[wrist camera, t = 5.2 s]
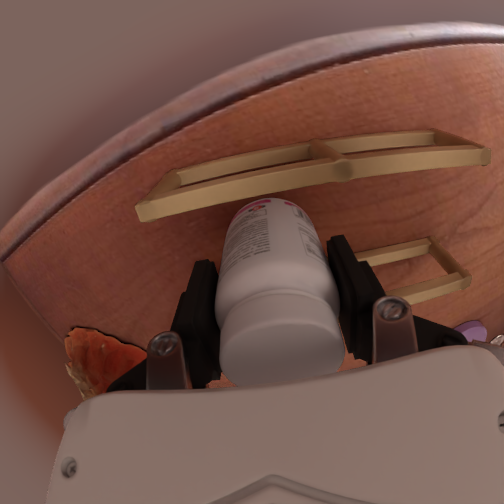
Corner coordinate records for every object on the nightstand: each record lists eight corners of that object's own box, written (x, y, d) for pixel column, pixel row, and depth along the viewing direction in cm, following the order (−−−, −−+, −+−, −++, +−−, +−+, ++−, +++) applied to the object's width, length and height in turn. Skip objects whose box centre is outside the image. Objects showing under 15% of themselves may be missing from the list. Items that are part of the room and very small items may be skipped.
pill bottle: (226, 271, 17) (209, 398, 9) (227, 193, 14) (198, 304, 7) (306, 274, 17) (334, 399, 10) (320, 199, 14) (378, 309, 7)
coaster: (492, 310, 22) (496, 316, 21) (469, 359, 26) (472, 364, 26) (431, 335, 23) (435, 342, 22) (413, 382, 27) (416, 388, 26)
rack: (438, 127, 13) (491, 147, 9) (433, 246, 18) (469, 287, 13) (165, 171, 15) (133, 204, 11) (207, 291, 19) (198, 347, 15)
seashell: (128, 298, 22) (39, 333, 24) (77, 404, 12) (-4, 403, 14) (221, 408, 29) (127, 420, 31) (217, 492, 19) (110, 484, 21)
